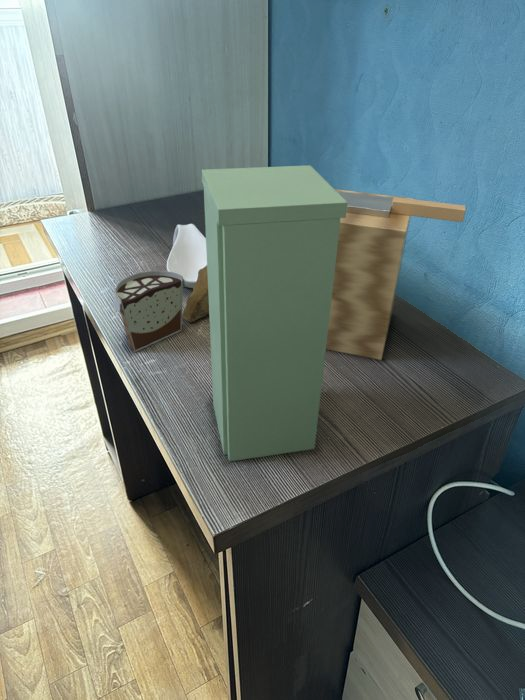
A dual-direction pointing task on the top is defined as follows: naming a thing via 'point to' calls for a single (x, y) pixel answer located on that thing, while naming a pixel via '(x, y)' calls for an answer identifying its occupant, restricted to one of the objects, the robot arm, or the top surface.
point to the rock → (198, 298)
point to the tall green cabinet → (269, 303)
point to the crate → (365, 281)
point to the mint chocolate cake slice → (150, 306)
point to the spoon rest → (187, 253)
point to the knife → (401, 207)
